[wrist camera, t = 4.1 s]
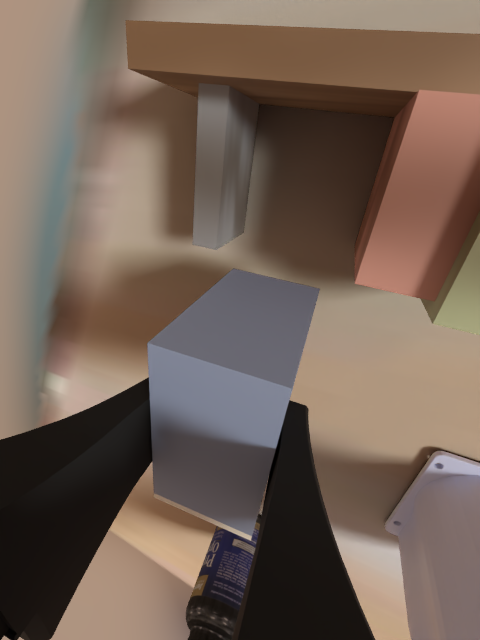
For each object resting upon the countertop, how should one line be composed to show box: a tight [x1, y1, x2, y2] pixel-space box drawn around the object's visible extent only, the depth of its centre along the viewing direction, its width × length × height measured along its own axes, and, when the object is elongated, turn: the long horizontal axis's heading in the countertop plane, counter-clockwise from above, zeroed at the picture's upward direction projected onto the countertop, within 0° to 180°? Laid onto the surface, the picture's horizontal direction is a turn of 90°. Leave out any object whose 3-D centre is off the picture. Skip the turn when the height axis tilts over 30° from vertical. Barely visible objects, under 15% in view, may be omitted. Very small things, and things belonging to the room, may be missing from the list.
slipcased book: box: [147, 269, 320, 541], centre depth 12 cm, size 7×4×6 cm, turn 173°
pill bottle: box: [186, 515, 261, 640], centre depth 26 cm, size 6×6×11 cm
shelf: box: [126, 20, 480, 335], centre depth 12 cm, size 7×15×6 cm, turn 83°
